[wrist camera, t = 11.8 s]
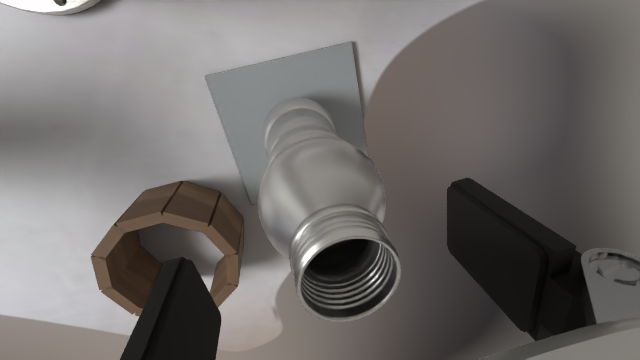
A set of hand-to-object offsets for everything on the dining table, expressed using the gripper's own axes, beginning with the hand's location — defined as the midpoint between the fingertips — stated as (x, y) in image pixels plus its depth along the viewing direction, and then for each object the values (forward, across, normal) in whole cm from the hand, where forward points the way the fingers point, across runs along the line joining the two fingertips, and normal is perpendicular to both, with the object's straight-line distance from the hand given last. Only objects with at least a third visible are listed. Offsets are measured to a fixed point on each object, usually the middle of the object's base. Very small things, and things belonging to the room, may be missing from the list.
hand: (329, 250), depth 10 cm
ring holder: (+19, +13, +9) cm, 25 cm away
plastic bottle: (+19, -1, +1) cm, 19 cm away
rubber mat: (+19, -1, +1) cm, 19 cm away
